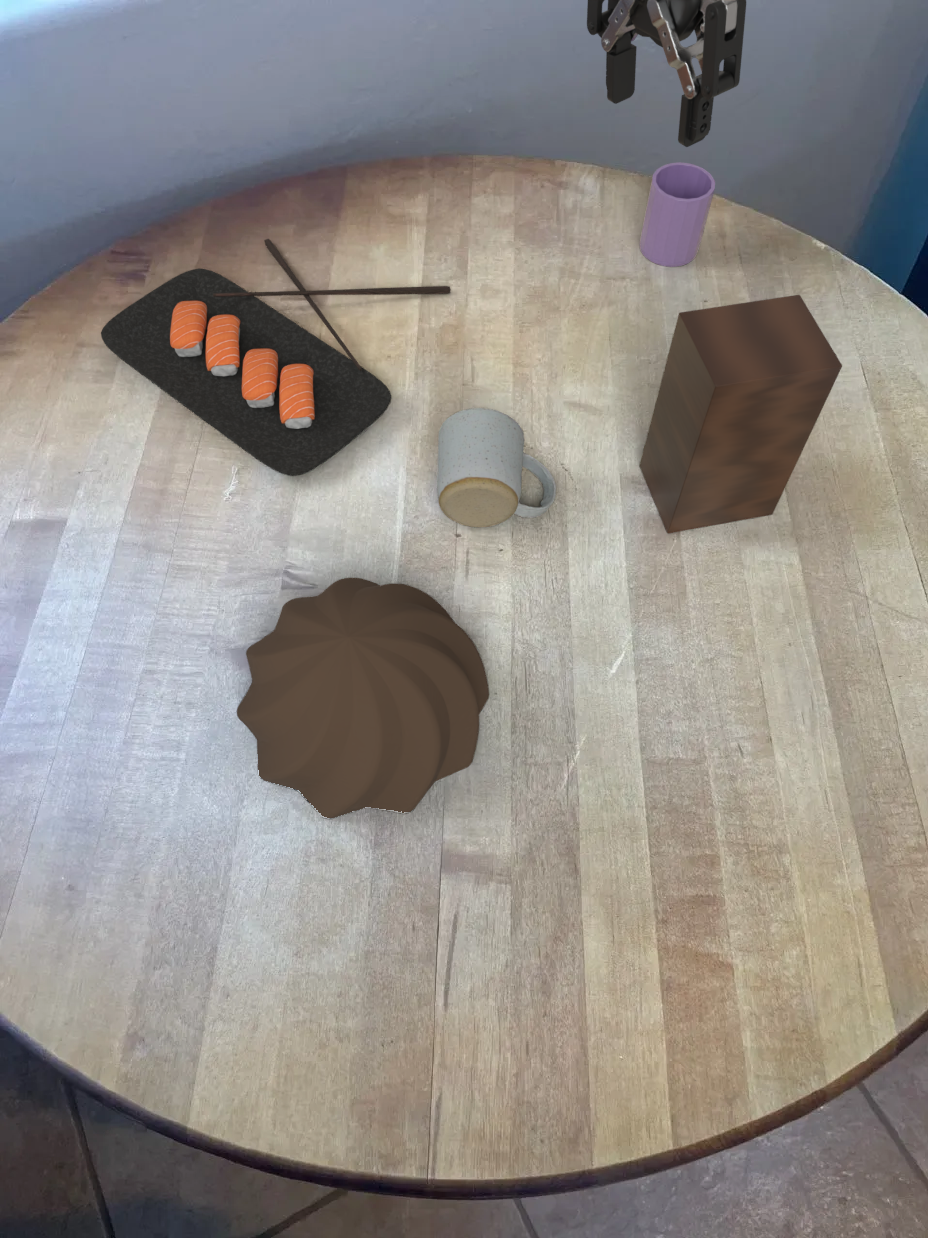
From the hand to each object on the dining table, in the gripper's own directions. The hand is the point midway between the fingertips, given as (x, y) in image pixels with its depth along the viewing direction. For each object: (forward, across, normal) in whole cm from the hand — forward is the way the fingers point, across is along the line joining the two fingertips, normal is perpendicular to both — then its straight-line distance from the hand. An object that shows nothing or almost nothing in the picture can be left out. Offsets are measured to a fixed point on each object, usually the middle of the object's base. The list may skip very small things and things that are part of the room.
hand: (655, 119), depth 74 cm
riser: (+27, -14, +4) cm, 31 cm away
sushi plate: (+22, +22, +25) cm, 40 cm away
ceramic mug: (+25, -5, +20) cm, 33 cm away
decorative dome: (+25, -16, +41) cm, 51 cm away
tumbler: (+25, +14, -15) cm, 32 cm away
